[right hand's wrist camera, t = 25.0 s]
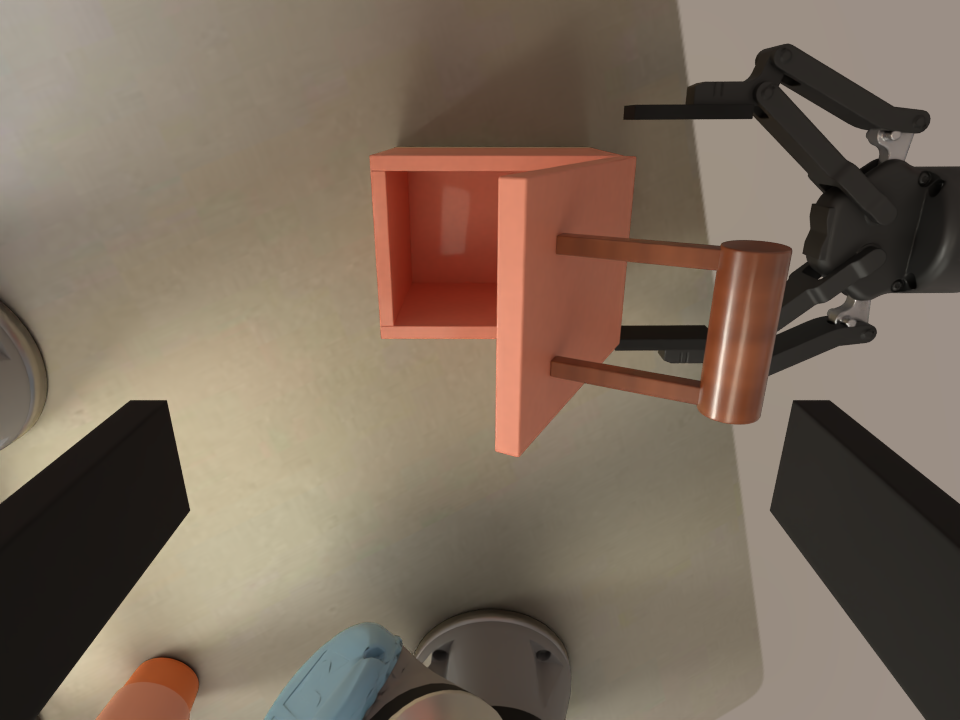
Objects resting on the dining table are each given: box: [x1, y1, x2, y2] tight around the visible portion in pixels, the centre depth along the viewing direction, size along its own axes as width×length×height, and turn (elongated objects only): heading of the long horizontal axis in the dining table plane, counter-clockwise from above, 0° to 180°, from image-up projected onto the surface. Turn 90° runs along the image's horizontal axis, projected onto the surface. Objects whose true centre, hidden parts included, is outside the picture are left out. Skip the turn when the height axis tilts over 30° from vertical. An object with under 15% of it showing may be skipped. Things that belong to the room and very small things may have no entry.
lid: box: [495, 156, 792, 457], centre depth 25 cm, size 14×10×9 cm
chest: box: [370, 147, 623, 339], centre depth 38 cm, size 13×10×11 cm
